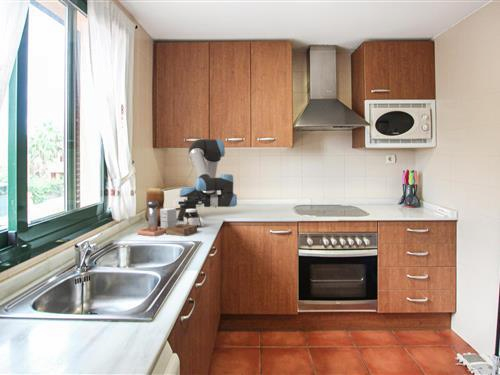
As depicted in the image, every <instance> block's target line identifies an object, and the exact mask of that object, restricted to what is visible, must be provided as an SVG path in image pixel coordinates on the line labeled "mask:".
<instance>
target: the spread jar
mask: <svg viewBox="0 0 500 375" xmlns="http://www.w3.org/2000/svg"><path fill="white" fill-rule="evenodd" d="M196 209H197V208H196ZM196 209H186V213H185V214H184V220H183V224H186V225H197V228H198V227H199V225H200V227H201V228H203V227H204V226H205V223H204V220H203V218H202V217H201V216H200V215H199V212H198V211H197V212H198V213H197V212H196Z"/></svg>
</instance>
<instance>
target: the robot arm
mask: <svg viewBox="0 0 500 375" xmlns="http://www.w3.org/2000/svg"><path fill="white" fill-rule="evenodd" d="M225 154H226V152H225V144H224V142H223V140H222V139H217V138H215V139H214V138H213V139H206V138H205V139H204V138H199V139H196V140H194V141H193V142H192V143H191V144H190V146H189V148H188V158H190V159H191V161H192V164H193V168H194V171H195V174H196V179H195V186H187V187H186V186H185V187H182V188H181V189H180V190H179V196H176V198H175V199H173V200H172V205H173V206H180V208H179V212H178V216H177V220H180V221H184V214H185V213H186V209H196V212H197V213H198V214H199V212H198V210H197V205H200V206H201V205H203V206H204V208H211V207H212V208H215V209H217V208H231V207H232V208H233V207H234V208H235V207H236V206H237V205H238V202H237V201H238V200H237V199H238V198H237V197H238V196H237V194H236V193H234V175H233V174H229V173H225V174H224V173H223V174H220V177H217V170H218V164H219V162H220V161H221V160H222V158H224V157H225ZM219 191H220V193H219V194H218V192H219Z"/></svg>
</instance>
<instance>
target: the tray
mask: <svg viewBox="0 0 500 375" xmlns="http://www.w3.org/2000/svg"><path fill="white" fill-rule="evenodd" d="M157 229H158V231H156V232H150V231H149V227H145V228H141V229H138V230H137V236H138V235H139V236H145V237H153V236H155V237H158V236H161V235H165V234H166V228H161V226H160V227H159V226H157ZM164 233H165V234H164Z"/></svg>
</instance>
